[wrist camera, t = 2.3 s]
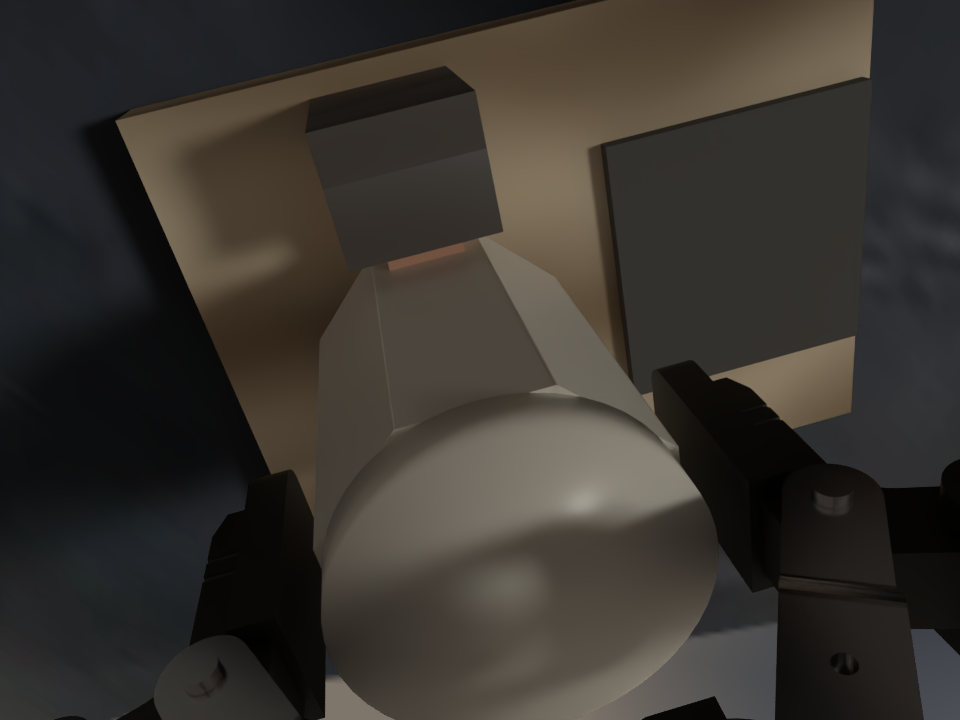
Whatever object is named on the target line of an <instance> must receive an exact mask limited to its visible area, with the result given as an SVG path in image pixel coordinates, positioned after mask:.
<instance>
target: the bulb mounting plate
mask: <svg viewBox="0 0 960 720" xmlns="http://www.w3.org/2000/svg"><path fill="white" fill-rule="evenodd" d="M873 7H874V0H576V1H571V2H567V3H563V4H559V5H555V6H551V7H547V8H543V9H539V10H535V11H531V12H527V13H522V14H518V15H514V16H510V17H506V18H502V19H498V20H494V21H490V22H486V23H482V24H477V25H473V26H469V27H465V28H461V29H457V30H453V31H449V32H445V33H441V34H437V35H432V36H428V37H424V38H420V39H416V40H412V41H408V42H404V43H400V44H396V45H392V46H387V47H383V48H379V49H375V50H371V51H367V52H363V53H359V54H355V55H351V56H347V57H343V58H338V59H334V60H330V61H326V62H322V63H318V64H314V65H310V66H306V67H302V68H298V69H293V70H289V71H285V72H281V73H277V74H273V75H269V76H265V77H261V78H257V79H253V80H248V81H244V82H240V83H236V84H232V85H228V86H224V87H220V88H216V89H212V90H208V91H203V92H199V93H195V94H191V95H187V96H183V97H179V98H175V99H171V100H167V101H163V102H159V103H154V104H150V105H146V106H142V107H138V108H134V109H131V110H130V111H129V112H127V113H126V114H124V115H123V116H121V117H120V118H119V119H117V120H116V124H117V126H118V128H119V130H120V133H121V135H122V137H123V139H124V142H125V144H126V146H127V148H128V151H129V153H130V155H131V158H132V160H133V162H134V164H135V167H136V169H137V171H138V173H139V176H140V178H141V180H142V182H143V185H144V187H145V189H146V192H147V194H148V196H149V198H150V201H151V203H152V205H153V207H154V210H155V212H156V214H157V216H158V219H159V221H160V223H161V226H162V228H163V230H164V232H165V235H166V237H167V239H168V241H169V244H170V246H171V248H172V250H173V253H174V255H175V257H176V260H177V262H178V264H179V266H180V269H181V271H182V273H183V275H184V278H185V280H186V282H187V284H188V287H189V289H190V291H191V294H192V296H193V298H194V300H195V303H196V305H197V307H198V309H199V312H200V314H201V316H202V318H203V321H204V323H205V325H206V328H207V330H208V332H209V334H210V337H211V339H212V341H213V343H214V346H215V348H216V350H217V352H218V355H219V357H220V359H221V362H222V364H223V366H224V368H225V371H226V373H227V375H228V377H229V380H230V382H231V384H232V386H233V389H234V391H235V393H236V396H237V398H238V400H239V402H240V405H241V407H242V409H243V411H244V414H245V416H246V418H247V420H248V423H249V425H250V427H251V430H252V432H253V434H254V436H255V439H256V441H257V443H258V445H259V448H260V450H261V452H262V454H263V457H264V459H265V461H266V464H267V466H268V468H269V470H270V473H271V474H274V473H278V472H282V471H285V470H289V469H291V470H293V471H294V473H295V475H296V476H297V479H298V481H299V483H300V486H301V488H302V490H303V493H304V495H305V498H306V500H307V502H308V505H309V507H310V510H311V512H312V514H313V517H314V506H315V474H316V443H317V411H318V380H319V348H320V339H321V337H322V335H323V334H324V332H325V330H326V329H327V327H328V325H329V324H330V322H331V320H332V319H333V317H334V315H335V314H336V312H337V310H338V308H339V307H340V305H341V303H342V302H343V300H344V298H345V297H346V295H347V293H348V292H349V290H350V288H351V287H352V285H353V283H354V282H355V280H356V278H357V277H358V275H359V273H360V272H361V270H362V269H363V268H367V267H371V266H375V265H379V264H382V263H386V262H390V261H394V260H398V259H401V258H405V257H409V256H413V255H417V254H421V253H424V252H428V251H432V250H436V249H440V248H444V247H447V246H451V245H455V244H459V243H463V242H467V241H470V240H474V239H478V238H482V237H487V238H489V239H491V240H493V241H494V242H496V243H498V244H499V245H501V246H503V247H505V248H506V249H508V250H510V251H511V252H513V253H515V254H517V255H518V256H520V257H522V258H523V259H525V260H527V261H529V262H530V263H532V264H534V265H535V266H537V267H539V268H541V269H542V270H544V271H546V272H547V273H549V274H551V275H552V276H554V277H556V279H557V280H558V281H559V283H560V284H561V285H562V287H563V288H564V290H565V291H566V292H567V294H568V295H569V296H570V298H571V299H572V301H573V302H574V303H575V305H576V306H577V307H578V309H579V310H580V312H581V313H582V314H583V316H584V317H585V318H586V320H587V321H588V323H589V324H590V325H591V327H592V328H593V329H594V331H595V332H596V334H597V335H598V336H599V338H600V339H601V340H602V342H603V343H604V345H605V346H606V347H607V349H608V350H609V351H610V353H611V354H612V356H613V357H614V358H615V360H616V361H617V362H618V364H619V365H620V367H621V368H622V369H623V371H624V372H625V373H626V375H627V376H628V378H629V374H628V366H627V357H626V349H625V341H624V333H623V325H622V316H621V308H620V300H619V292H618V284H617V275H616V267H615V259H614V251H613V243H612V234H611V226H610V218H609V210H608V202H607V194H606V185H605V177H604V169H603V161H602V153H601V144H602V143H606V142H609V141H613V140H617V139H621V138H625V137H629V136H633V135H637V134H641V133H645V132H648V131H652V130H656V129H660V128H664V127H668V126H672V125H676V124H680V123H684V122H687V121H691V120H695V119H699V118H703V117H707V116H711V115H715V114H719V113H723V112H726V111H730V110H734V109H738V108H742V107H746V106H750V105H754V104H758V103H762V102H765V101H769V100H773V99H777V98H781V97H785V96H789V95H793V94H797V93H801V92H804V91H808V90H812V89H816V88H820V87H824V86H828V85H832V84H836V83H840V82H843V81H847V80H851V79H855V78H859V77H866V78H870V60H871V42H872V25H873ZM854 345H855V336H853V337H849V338H845V339H842V340H838V341H835V342H831V343H827V344H824V345H820V346H816V347H813V348H809V349H806V350H802V351H798V352H795V353H791V354H788V355H784V356H780V357H777V358H773V359H770V360H766V361H762V362H759V363H755V364H752V365H748V366H744V367H741V368H737V369H734V370H730V371H726V372H723V373H719V374H716V375H712V376H709V377H710V378H711V379H712V380H713V381H715V380H718V379H722V378H725V377H727V378H729V379H732V380H734V381H736V382H738V383H741V384H743V385H745V386H747V387H750V388H751V389H752V390H753V391H754V392H755V393H756V394H757V395H758V396H759V397H760V398H761V399H762V400H763V401H764V402H765V403H766V404H767V407H770V408H771V409H772V410H773V411H774V412H775V413H776V414H777V415H778V416H779V417H780V420H783V421H784V422H785V423H786V424H787V425H788V426H789V427H790V428H791V429H793V428H796V427H800V426H803V425H807V424H810V423H814V422H817V421H821V420H824V419H828V418H832V417H835V416H839V415H842V414H846V413H849V412H851V398H852V381H853V363H854ZM642 397H643V398H644V400H645V401H646V402H647V404H648V405H649V406H650V408H651V409H652V411H653V412H654V413H655V411H654V401H653V392H651V393H647V394H643V395H642Z"/></svg>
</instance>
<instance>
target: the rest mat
mask: <svg viewBox="0 0 960 720" xmlns="http://www.w3.org/2000/svg"><path fill="white" fill-rule="evenodd" d="M872 80H873V79H871V78H866V77H859V78H855V79H851V80H847V81H843V82H840V83H836V84H832V85H828V86H824V87H820V88H816V89H812V90H808V91H804V92H801V93H797V94H793V95H789V96H785V97H781V98H777V99H773V100H769V101H765V102H762V103H758V104H754V105H750V106H746V107H742V108H738V109H734V110H730V111H726V112H723V113H719V114H715V115H711V116H707V117H703V118H699V119H695V120H691V121H687V122H684V123H680V124H676V125H672V126H668V127H664V128H660V129H656V130H652V131H648V132H645V133H641V134H637V135H633V136H629V137H625V138H621V139H617V140H613V141H609V142H606V143H602V144H601V153H602V161H603V169H604V177H605V185H606V194H607V202H608V210H609V218H610V226H611V234H612V243H613V251H614V259H615V267H616V275H617V284H618V292H619V300H620V308H621V316H622V325H623V333H624V341H625V349H626V357H627V366H628V374H629V379H630V380H631V382H632V383H633V384H634V386H635V387H636V389H637V390H638V391H639V393H640V394H641V395H643V394H647V393H651V392H652V382H651V375H652V371H653V370H655V369H659V368H662V367H666V366H670V365H673V364H677V363H681V362H684V361H688V360H693V361H695V362H696V363H697V364H698V365H699V367H700V368H701V369H702V370H703V371H704V372H705V373H706V374H707V375H708V376H712V375H716V374H719V373H723V372H726V371H730V370H734V369H737V368H741V367H744V366H748V365H752V364H755V363H759V362H762V361H766V360H770V359H773V358H777V357H780V356H784V355H788V354H791V353H795V352H798V351H802V350H806V349H809V348H813V347H816V346H820V345H824V344H827V343H831V342H835V341H838V340H842V339H845V338H849V337H853V336H856V335H858V320H859V303H860V286H861V269H862V252H863V234H864V217H865V200H866V183H867V166H868V148H869V131H870V114H871V97H872Z"/></svg>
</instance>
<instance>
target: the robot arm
mask: <svg viewBox="0 0 960 720" xmlns="http://www.w3.org/2000/svg"><path fill="white" fill-rule="evenodd" d="M651 382H652V392H653V401H654V411H655V415H656V416H657V417H658V419H659V420H660V422H661V423H662V424H663V426H664V427H665V428H666V430H667V431H668V433H669V434H670V435H671V437H672V438H673V439H674V441H675V442H676V444H677V445H678V446H679V457H680V465H681V466H682V468H683V469H684V471H685V472H686V474H687V475H688V476H689V478H690V479H691V481H692V482H693V483H694V485H695V486H696V488H697V489H698V491H699V492H700V494H701V495H702V497H703V499H704V501H705V502H706V504H707V506H708V508H709V509H710V512H711V515H712V518H713V521H714V524H715V527H716V532H717V538H718V542H719V544H720V545H721V547H722V548H723V550H724V551H725V553H726V554H727V556H728V557H729V559H730V560H731V562H732V563H733V565H734V566H735V568H736V569H737V571H738V572H739V574H740V575H741V576H742V578H743V579H744V581H745V582H746V584H747V585H748V587H749V588H750V590H751V591H752V593H753V592H757V591H760V590H764V589H767V588H770V587H775V588H776V589H777V591H778V592H779V593H778V629H777V630H778V631H777V664H776V665H777V666H776V701H775V720H924V718H923V711H922V704H921V698H920V691H919V684H918V677H917V670H916V663H915V657H914V650H913V643H912V636H911V629H934V630H935V631H936V632H937V633H938V634H939V635H940V636H941V637H942V638H943V639H944V640H945V641H946V642H947V643H948V644H949V645H950V646H951V647H952V648H953V649H954V650H955V651H956V652H957V653H958V654H959V655H960V459H959V460H957V461H954V462H953V463H951V464H950V465H948V466H947V467H946V468H945V469H944V471H943V473H942V478H941V486H939V487H915V488H881V487H880V486H879V485H878V483H877V482H876V481H875V480H874V479H872V478H871V477H870V476H868V475H867V474H865V473H863V472H861V471H859V470H857V469H854V468H851V467H848V466H843V465H838V464H827V463H826V462H825V461H824V460H823V459H822V458H821V457H820V456H819V455H818V454H817V453H816V452H815V451H814V450H813V449H812V448H811V447H810V446H809V445H808V444H807V443H806V442H805V441H804V440H803V439H802V438H801V437H800V436H799V435H798V434H797V433H796V432H794V431H793V430H792V429H791V428H790V427H789V426H788V425H787V424H786V423H785V422H784V421H783V420H780V417H779V416H778V415H777V414H776V413H775V412H774V411H773V410H772V409H771V408H770V407H767V404H766V403H765V402H764V401H763V400H762V399H761V398H760V397H759V396H758V395H757V394H756V393H755V392H754V391H753V390H752V389H751V388H750V387H747V386H745V385H743V384H741V383H738V382H736V381H734V380H732V379H729V378H727V377H725V378H722V379H718V380H715V381H713V380H712V379H711V378H710V377H709V376H708V375H707V374H706V373H705V372H704V371H703V370H702V369H701V368H700V367H699V365H698V364H697V363H696V362H695V361H693V360H688V361H684V362H681V363H677V364H673V365H670V366H666V367H662V368H659V369H655V370H653V371H652V375H651ZM313 537H314V517H313V514H312V512H311V510H310V507H309V505H308V502H307V500H306V498H305V495H304V493H303V490H302V488H301V486H300V483H299V481H298V479H297V476H296V475H295V473H294V471H293V470H291V469H289V470H285V471H282V472H278V473H274V474H271V475H267V476H263V477H260V478H256V479H253V480H251V481H250V482H249V486H248V493H247V499H246V505H245V510H243V511H239V512H236V513H232V514H229V515H227V517H226V518H225V520H224V521H223V523H222V524H221V525H220V527H219V528H218V530H217V531H216V533H215V534H214V536H213V537H212V541H211V546H210V551H209V556H208V564H207V565H206V570H205V574H204V580H205V582H203V584H202V589H201V593H200V598H199V603H198V608H197V612H196V617H195V622H194V627H193V631H192V636H191V641H190V645H189V647H188V648H186V649H185V650H184V651H182V652H181V653H180V654H178V655H177V656H176V657H175V658H174V659H173V660H172V661H171V662H170V663H169V664H168V666H167V667H166V668H165V670H164V671H163V672H162V674H161V676H160V678H159V680H158V682H157V684H156V687H155V691H154V697H153V698H152V699H151V700H149V701H148V702H146V703H145V704H143V705H141V706H140V707H138V708H136V709H135V710H133V711H131V712H129V713H128V714H126V715H124V716H122V717H120V718H119V719H117V720H318V719H321V718H325V660H326V645H325V643H324V638H323V631H322V625H321V596H322V569H321V567H320V564H319V562H318V560H317V557H316V555H315V553H314V551H313ZM55 720H86V719H85V718H82V717H78V716H68V717H62V718H58V719H55ZM642 720H751V719H738V718H737V719H726V717H725V715H724V713H723V711H722V709H721V707H720V705H719V703H718V702H717V700H716V698H715V696H714V697H710V698H707V699H704V700H701V701H698V702H694V703H691V704H687V705H684V706H681V707H677V708H675V709H671V710H668V711H664V712H661V713H658V714H654V715H651V716H648V717H645V718H644V719H642Z"/></svg>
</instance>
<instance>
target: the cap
mask: <svg viewBox="0 0 960 720" xmlns="http://www.w3.org/2000/svg"><path fill="white" fill-rule="evenodd" d="M313 551H314V553H315V555H316V557H317V560H318V562H319V564H320V567H321V569H322V596H321V625H322V631H323V638H324V643H325V645H326V648H327V651H328V654H329V657H330V660H331V661H332V663H333V665H334V667H335V668H336V670H337V672H338V673H339V675H340V677H341V678H342V679H343V680H344V681H345V683H346V684H347V685H348V686H349V687H350V689H351V690H352V691H353V692H354V693H355V694H357V695H358V696H359V697H360V698H361V699H362V700H364V701H365V702H366V703H367V704H368V705H370V706H372V707H374V708H375V709H376V710H378V711H380V712H381V713H383V714H384V715H387V716H389V717H391V718H393V719H395V720H573V719H576V718H579V717H581V716H583V715H586V714H588V713H590V712H592V711H595V710H597V709H599V708H601V707H603V706H605V705H607V704H609V703H611V702H612V701H614V700H616V699H618V698H620V697H621V696H623V695H625V694H626V693H628V692H629V691H630V690H632V689H634V688H635V687H637V686H638V685H640V684H641V683H642V682H644V681H645V680H646V679H647V678H649V677H650V676H651V675H652V674H654V673H655V672H656V671H657V670H658V669H660V668H661V667H662V666H663V665H664V664H665V663H666V662H667V661H668V660H669V659H670V658H671V657H672V656H673V655H674V654H675V652H676V651H677V650H678V649H679V648H680V647H681V646H682V644H683V643H684V642H685V641H686V640H687V639H688V637H689V636H690V634H691V633H692V631H693V630H694V628H695V627H696V625H697V624H698V622H699V620H700V618H701V616H702V614H703V612H704V611H705V609H706V607H707V605H708V602H709V599H710V597H711V594H712V591H713V588H714V585H715V580H716V575H717V570H718V557H719V545H718V538H717V532H716V527H715V524H714V521H713V518H712V515H711V512H710V509H709V508H708V506H707V504H706V502H705V501H704V499H703V497H702V495H701V494H700V492H699V491H698V489H697V488H696V486H695V485H694V483H693V482H692V481H691V479H690V478H689V476H688V475H687V474H686V472H685V471H684V469H683V468H682V466H681V465H680V457H679V446H678V445H677V444H676V442H675V441H674V439H673V438H672V437H671V435H670V434H669V433H668V431H667V430H666V428H665V427H664V426H663V424H662V423H661V422H660V420H659V419H658V417H657V416H656V415H655V413H654V412H653V411H652V409H651V408H650V406H649V405H648V404H647V402H646V401H645V400H644V398H643V397H642V395H641V394H640V393H639V391H638V390H637V389H636V387H635V386H634V384H633V383H632V382H631V380H630V379H629V378H628V376H627V375H626V373H625V372H624V371H623V369H622V368H621V367H620V365H619V364H618V362H617V361H616V360H615V358H614V357H613V356H612V354H611V353H610V351H609V350H608V349H607V347H606V346H605V345H604V343H603V342H602V340H601V339H600V338H599V336H598V335H597V334H596V332H595V331H594V329H593V328H592V327H591V325H590V324H589V323H588V321H587V320H586V318H585V317H584V316H583V314H582V313H581V312H580V310H579V309H578V307H577V306H576V305H575V303H574V302H573V301H572V299H571V298H570V296H569V295H568V294H567V292H566V291H565V290H564V288H563V287H562V285H561V284H560V283H559V281H558V280H557V279H556V277H554V276H552V275H551V274H549V273H547V272H546V271H544V270H542V269H541V268H539V267H537V266H535V265H534V264H532V263H530V262H529V261H527V260H525V259H523V258H522V257H520V256H518V255H517V254H515V253H513V252H511V251H510V250H508V249H506V248H505V247H503V246H501V245H499V244H498V243H496V242H494V241H493V240H491V239H489V238H487V237H482V238H478V239H474V240H470V241H467V242H463V243H459V244H455V245H451V246H447V247H444V248H440V249H436V250H432V251H428V252H424V253H421V254H417V255H413V256H409V257H405V258H401V259H398V260H394V261H390V262H386V263H382V264H379V265H375V266H371V267H367V268H363V269H362V270H361V272H360V273H359V275H358V277H357V278H356V280H355V282H354V283H353V285H352V287H351V288H350V290H349V292H348V293H347V295H346V297H345V298H344V300H343V302H342V303H341V305H340V307H339V308H338V310H337V312H336V314H335V315H334V317H333V319H332V320H331V322H330V324H329V325H328V327H327V329H326V330H325V332H324V334H323V335H322V337H321V339H320V348H319V380H318V411H317V443H316V474H315V506H314V537H313Z"/></svg>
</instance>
